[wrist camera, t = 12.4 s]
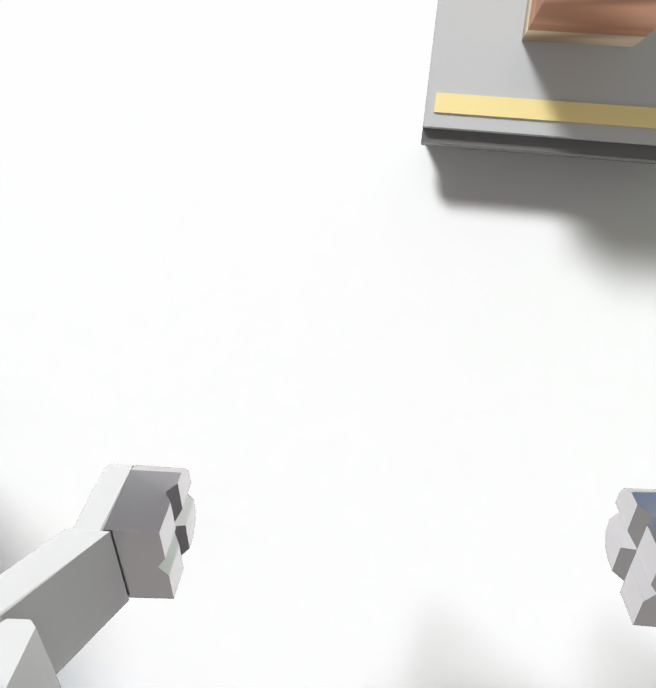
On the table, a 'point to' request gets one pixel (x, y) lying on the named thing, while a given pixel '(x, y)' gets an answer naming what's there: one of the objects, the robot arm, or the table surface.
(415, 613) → the table surface
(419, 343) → the table surface
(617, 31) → the copper brown block
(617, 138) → the dock
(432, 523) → the table surface
